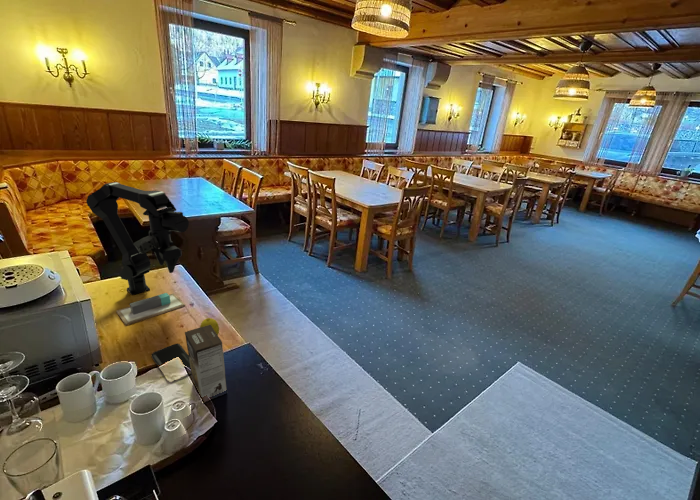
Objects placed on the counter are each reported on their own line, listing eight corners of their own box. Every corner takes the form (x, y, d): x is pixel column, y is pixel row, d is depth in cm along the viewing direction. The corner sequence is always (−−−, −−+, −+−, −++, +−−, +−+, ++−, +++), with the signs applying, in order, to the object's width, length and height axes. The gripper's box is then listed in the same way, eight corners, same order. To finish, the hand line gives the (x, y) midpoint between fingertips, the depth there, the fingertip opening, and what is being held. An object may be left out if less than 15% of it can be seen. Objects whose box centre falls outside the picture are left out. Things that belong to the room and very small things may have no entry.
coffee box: (191, 383, 90) (183, 331, 84) (216, 373, 94) (210, 323, 88) (201, 405, 84) (194, 351, 78) (228, 394, 87) (222, 341, 82)
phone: (168, 381, 90) (150, 353, 99) (169, 384, 90) (150, 356, 100) (199, 367, 95) (178, 342, 104) (199, 371, 95) (179, 345, 105)
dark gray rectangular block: (131, 311, 119) (129, 303, 118) (167, 299, 127) (166, 292, 126) (133, 314, 117) (132, 307, 116) (170, 302, 125) (169, 295, 124)
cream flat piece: (116, 312, 119) (115, 308, 119) (173, 294, 132) (173, 291, 132) (126, 325, 112) (125, 322, 112) (185, 305, 125) (184, 302, 125)
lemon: (223, 335, 110) (220, 314, 107) (215, 346, 105) (212, 324, 102) (206, 334, 110) (203, 312, 107) (197, 344, 105) (194, 322, 102)
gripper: (125, 225, 121) (133, 266, 126) (143, 240, 109) (151, 284, 115) (159, 220, 128) (165, 258, 134) (179, 233, 116) (185, 274, 122)
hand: (166, 268), depth 126 cm, fingers open, 9 cm apart
